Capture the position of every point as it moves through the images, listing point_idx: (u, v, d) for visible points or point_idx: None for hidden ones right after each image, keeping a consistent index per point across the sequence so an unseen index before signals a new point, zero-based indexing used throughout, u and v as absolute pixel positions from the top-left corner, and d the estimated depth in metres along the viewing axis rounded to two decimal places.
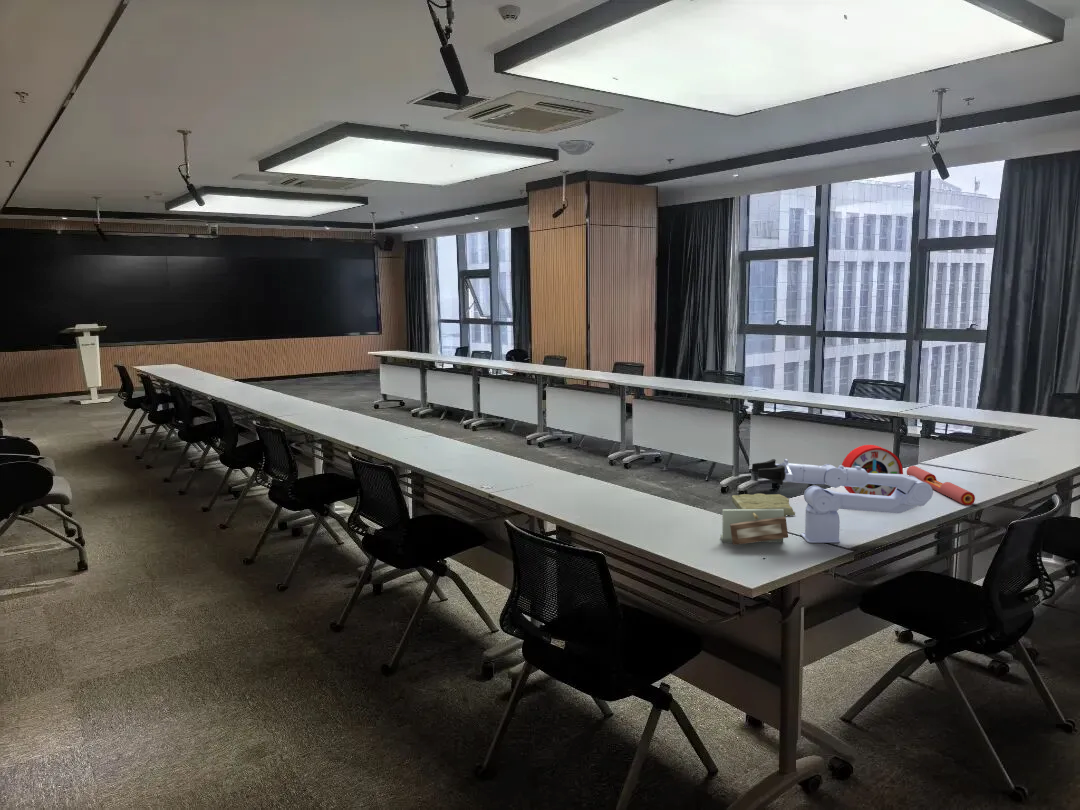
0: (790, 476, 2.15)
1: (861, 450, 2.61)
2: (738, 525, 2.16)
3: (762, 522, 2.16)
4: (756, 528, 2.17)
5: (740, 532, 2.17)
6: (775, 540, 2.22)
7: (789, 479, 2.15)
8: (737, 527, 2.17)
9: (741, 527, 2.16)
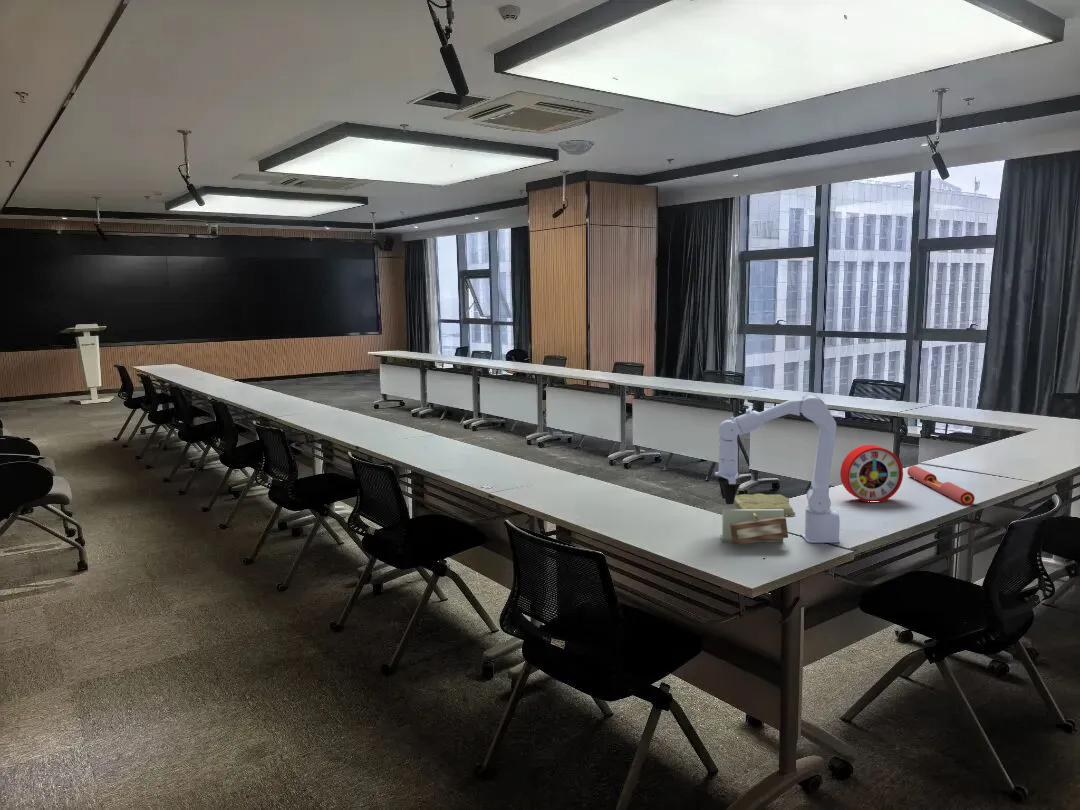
0: (731, 480, 2.22)
1: (861, 450, 2.61)
2: (738, 525, 2.16)
3: (762, 522, 2.16)
4: (756, 528, 2.17)
5: (740, 532, 2.17)
6: (775, 540, 2.22)
7: (734, 480, 2.22)
8: (737, 527, 2.17)
9: (741, 527, 2.16)
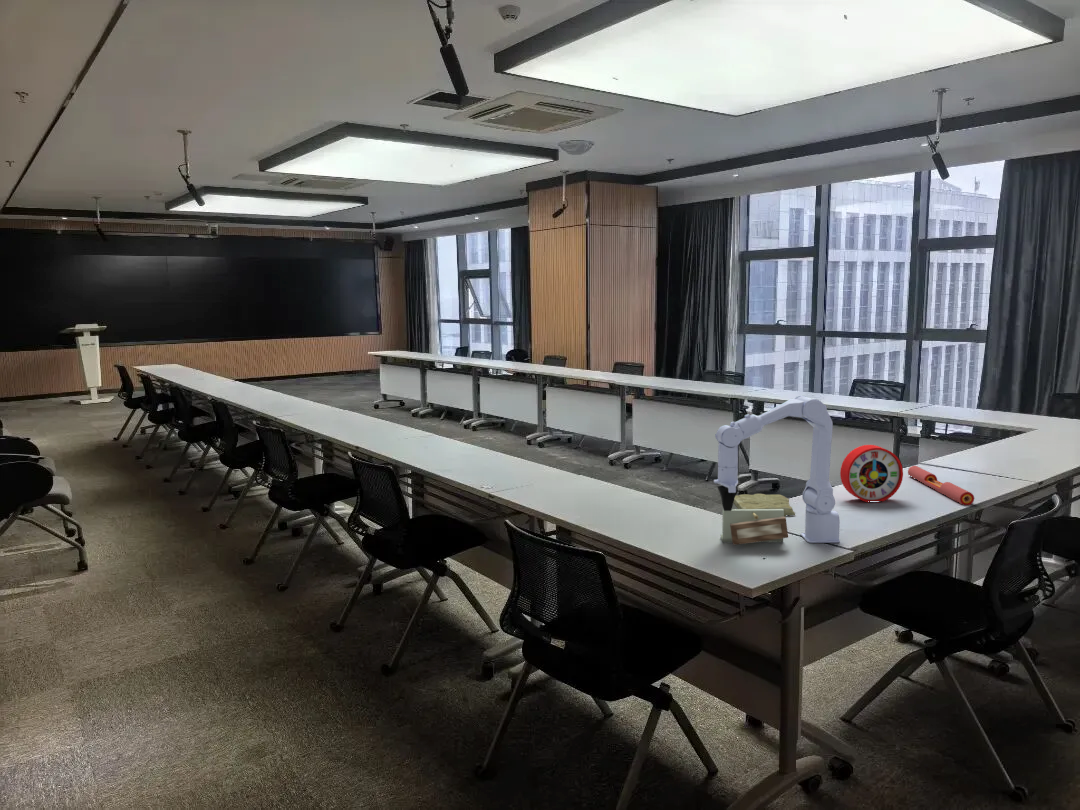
0: (731, 488, 2.13)
1: (861, 450, 2.61)
2: (738, 525, 2.16)
3: (762, 522, 2.16)
4: (756, 528, 2.17)
5: (740, 532, 2.17)
6: (775, 540, 2.22)
7: (734, 489, 2.13)
8: (737, 527, 2.17)
9: (741, 527, 2.16)
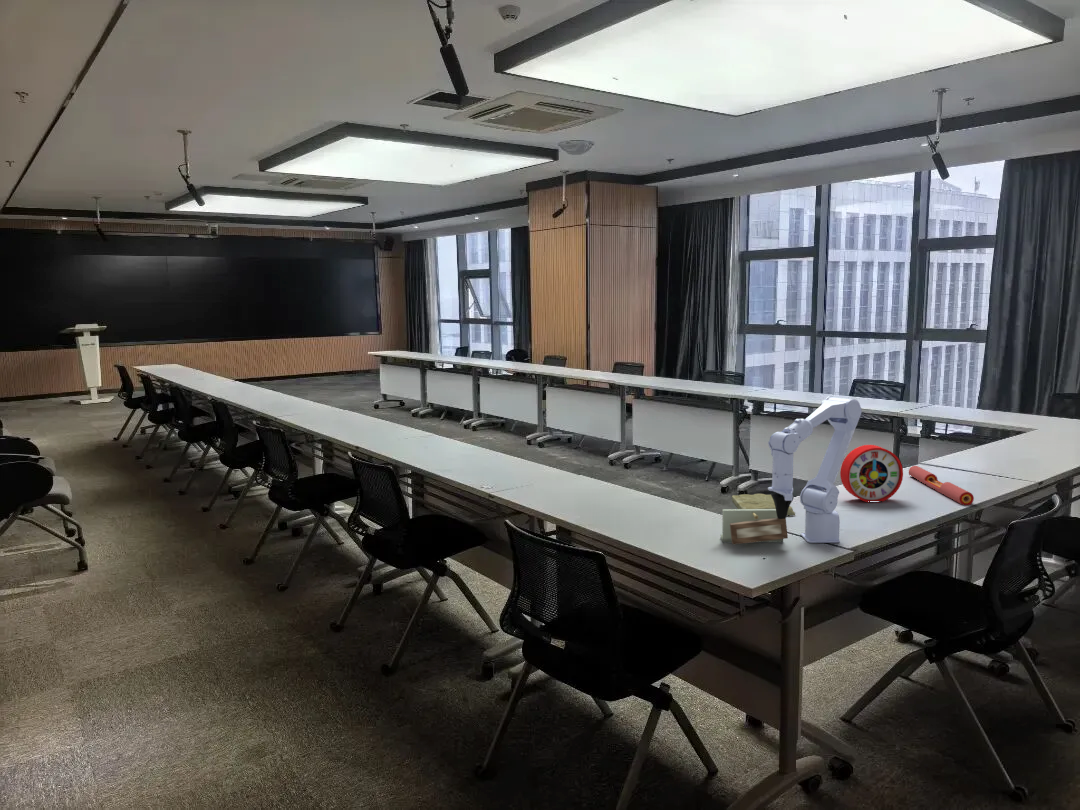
0: (787, 496, 2.08)
1: (861, 450, 2.61)
2: (738, 525, 2.16)
3: (762, 522, 2.16)
4: (756, 528, 2.17)
5: (740, 532, 2.17)
6: (775, 540, 2.22)
7: (790, 496, 2.08)
8: (737, 527, 2.17)
9: (741, 527, 2.16)
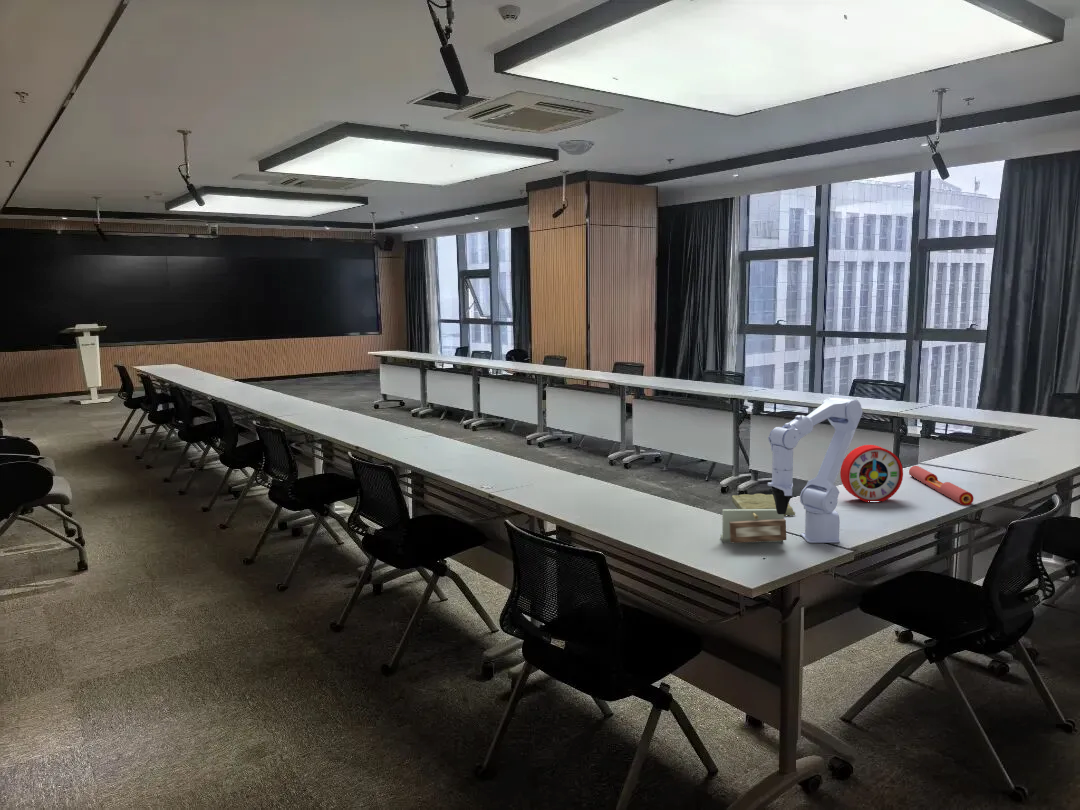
0: (787, 491, 2.08)
1: (861, 450, 2.61)
2: (738, 523, 2.16)
3: (762, 522, 2.16)
4: (755, 528, 2.17)
5: (739, 531, 2.17)
6: None
7: (790, 492, 2.08)
8: (736, 525, 2.16)
9: (740, 526, 2.16)
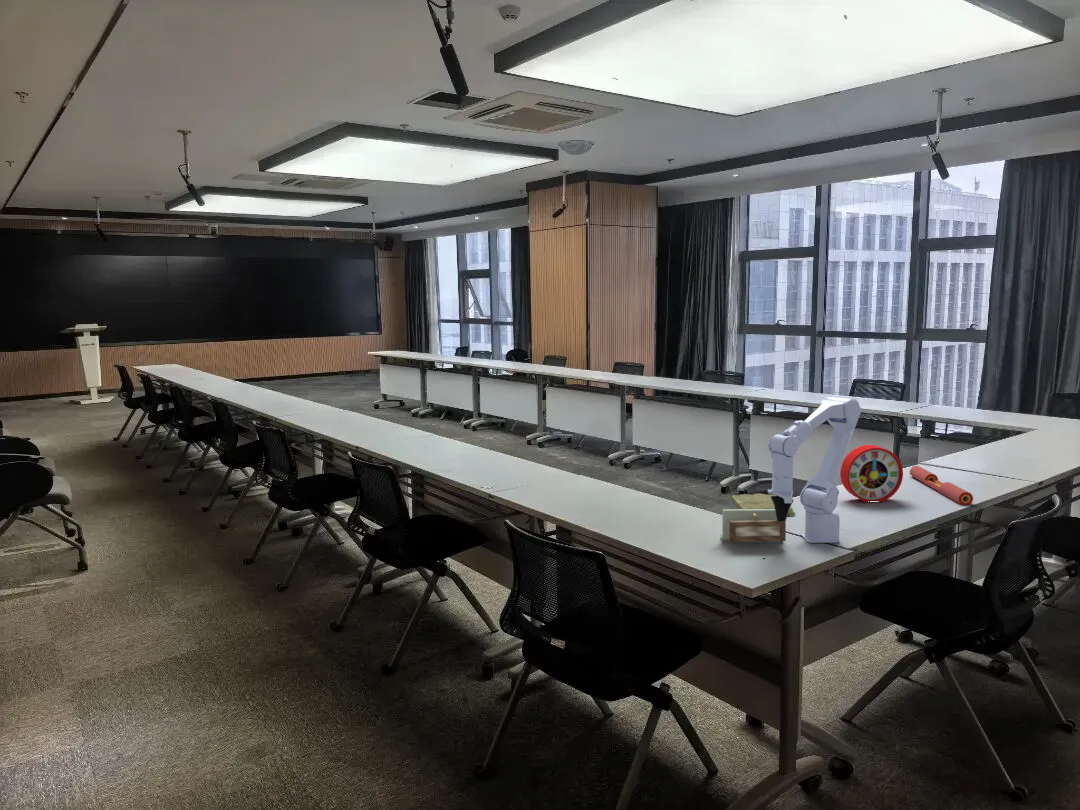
0: (787, 499, 2.08)
1: (861, 450, 2.61)
2: (737, 523, 2.16)
3: (762, 523, 2.16)
4: (755, 528, 2.17)
5: (738, 530, 2.17)
6: None
7: (790, 499, 2.08)
8: (736, 525, 2.16)
9: (740, 525, 2.16)
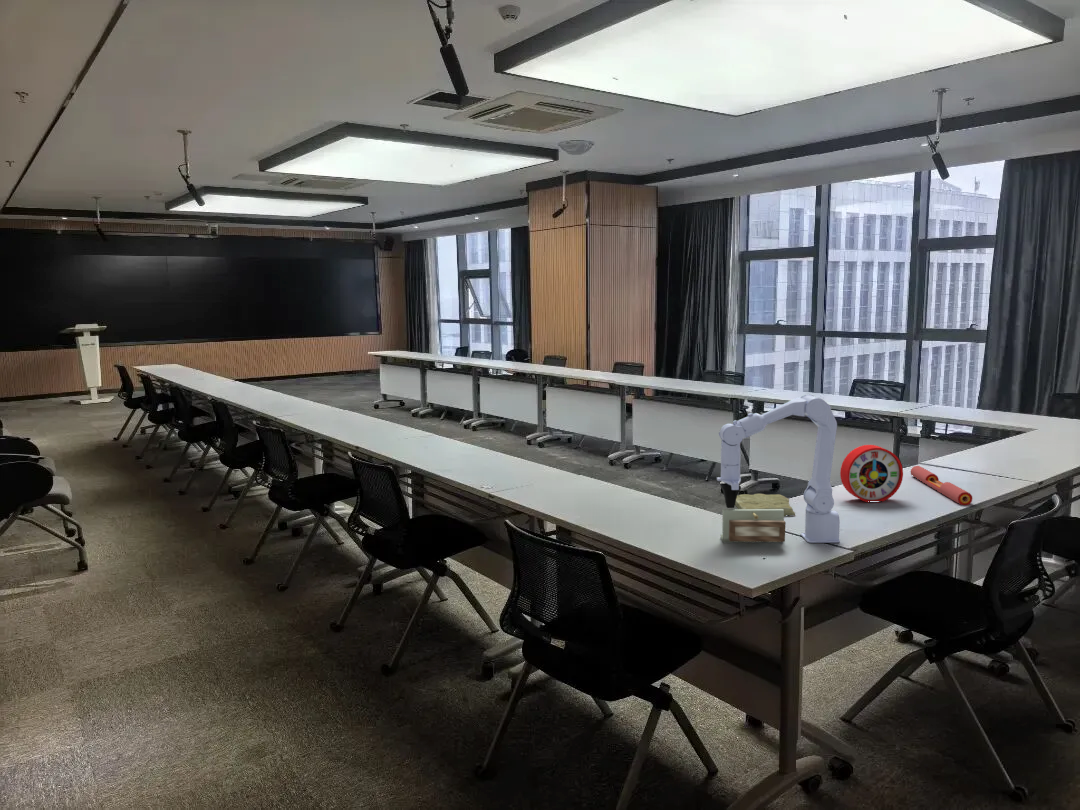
0: (734, 485, 2.16)
1: (861, 450, 2.61)
2: (737, 522, 2.16)
3: (761, 523, 2.16)
4: (754, 528, 2.17)
5: (738, 529, 2.17)
6: None
7: (737, 486, 2.16)
8: (736, 524, 2.16)
9: (740, 524, 2.16)
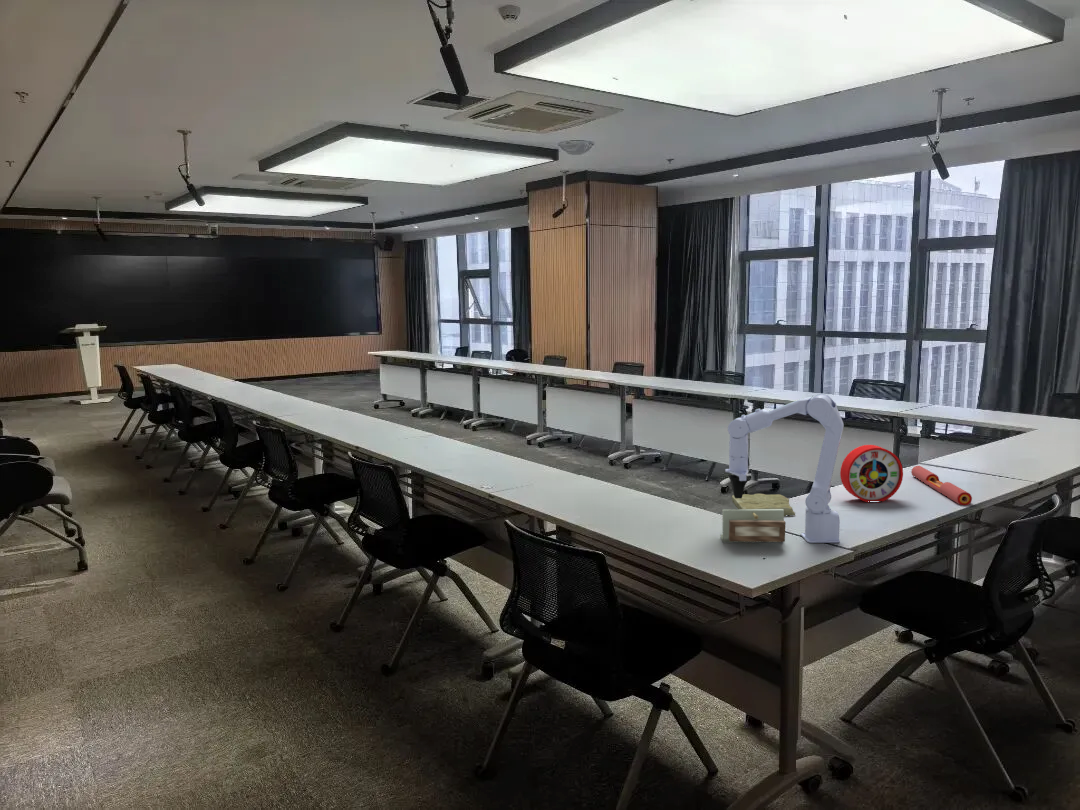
0: (741, 476, 2.26)
1: (861, 450, 2.61)
2: (737, 522, 2.16)
3: (761, 523, 2.16)
4: (754, 528, 2.17)
5: (738, 529, 2.17)
6: None
7: (744, 477, 2.26)
8: (736, 524, 2.16)
9: (740, 524, 2.16)
